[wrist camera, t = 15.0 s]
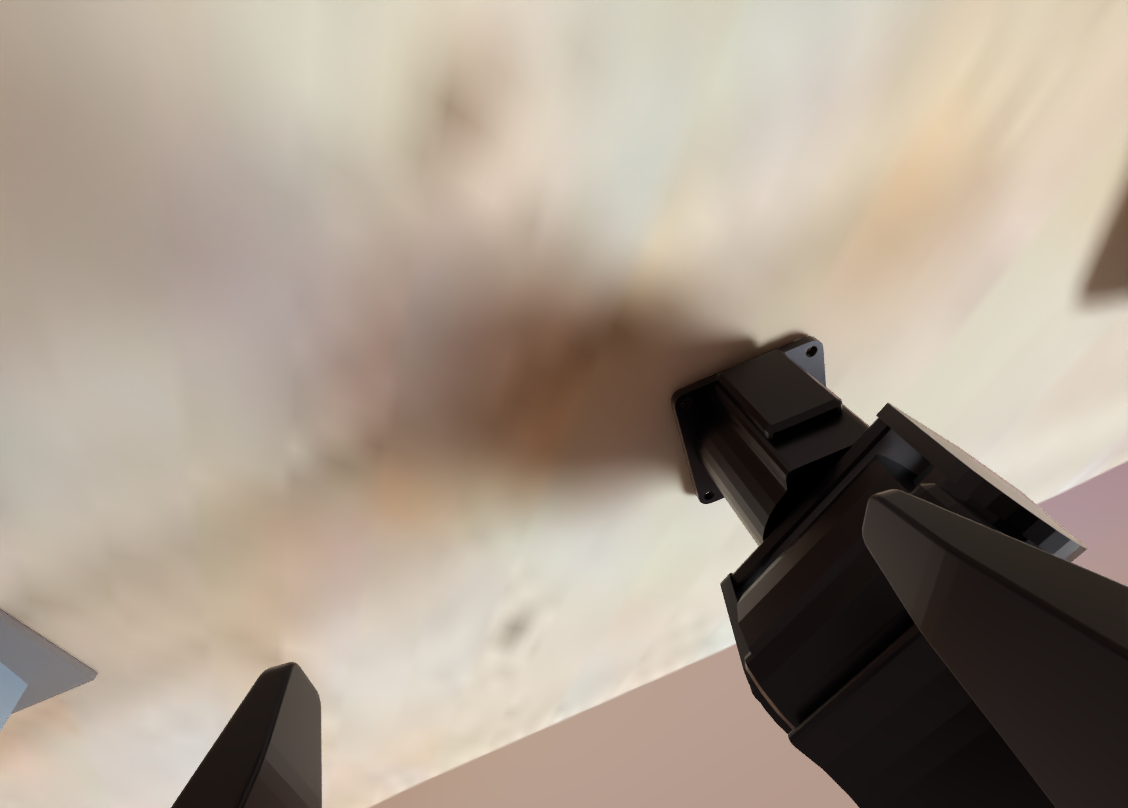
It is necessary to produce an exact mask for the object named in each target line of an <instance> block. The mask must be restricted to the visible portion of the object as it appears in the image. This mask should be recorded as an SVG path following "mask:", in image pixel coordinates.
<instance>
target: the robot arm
mask: <svg viewBox="0 0 1128 808" xmlns="http://www.w3.org/2000/svg"><path fill="white" fill-rule="evenodd" d="M811 346H812V347H811ZM810 347H811V349H810V350H809V351H808V352H807V353H806V351H807V350H808V348H810ZM686 398H688V400H687V402H685V403H683V404H681V402H682V400H684V399H686ZM671 404H672V408H673V411H674V415H675V419H676V423H677V426H678V430H679V434H680V438H681V441H682V445H683V449H684V452H685V456H686V460H687V464H688V467H689V471H690V475H691V479H692V482H693V486H694V490H695V493H696V496H697V497H698V499H699V500H700V502H701V503H703V504H709V503H712V502H715V501H717V500H720V499H722V498H724V497H725V499H726V500H727V501H728V503H729V504H730V506H731V507H732V509H733V510H734V511H735V513H736V514H737V516H738V517H739V519H740V520H741V521H742V523H743V524H744V526H745V527H746V529H747V530H748V531H749V533H750V534H751V536H752V537H753V539H754V540H755V541H756V543H757V544H758V547H757V549H756V550H755V551H754V552H753V553H752V554H751V555H750V556H749V557H748V558H747V559H746V560H745V561H744V563H743V564H742V565H741V566H740V567H739V568H738V569H737V570H736V571H735V572H734V573H733V574H732V573H730V574H729V575H728V576H727V577H726V578H725V579H724V580H723V581H722V582H721V583H720V584H721V589H722V592H723V596H724V600H725V603H726V607H727V611H728V614H729V618H730V622H731V625H732V629H733V633H734V636H735V640H736V644H737V647H738V651H739V654H740V658H741V662H742V666H743V669H744V672H745V675H746V678H747V680H748V683H749V684H750V687H751V690H752V693H753V695H754V696H755V698H756V699H757V700H758V701H759V702H760V703H761V704H762V706H763V707H764V708H765V710H766V711H767V712H768V713H769V715H770V716H771V717H772V718H773V719H774V721H775V722H776V723H777V724H778V725H779V726H780V727H781V728H782V729H783V730H784V731H785V732H786V733H787V734H788V737H789V740H790V742H791V743H792V744H793V745H794V746H795V747H796V748H797V749H799V750H800V751H801V752H802V753H803V754H805V755H806V756H807V757H808V758H810V759H811V760H812V761H813V762H815V763H816V764H817V765H818V766H820V767H821V768H822V769H823V770H824V771H825V772H826V773H827V774H828V775H829V776H830V777H831V778H832V779H833V780H834V781H835V782H836V783H837V784H838V785H839V786H840V787H841V788H842V789H843V790H844V791H845V792H846V793H847V794H848V795H849V796H850V797H851V798H852V799H853V800H854V802H855V803H856V804H857V805H858V807H859V808H1128V586H1125V585H1123V584H1121V583H1118V582H1116V581H1114V580H1111V579H1109V578H1107V577H1104V576H1102V575H1099V574H1097V573H1094V572H1092V571H1090V570H1088V569H1085V568H1083V567H1081V566H1078V565H1076V564H1074V563H1071V562H1072V561H1073V560H1074V559H1075V558H1077V557H1078V556H1079V555H1080V554H1082V553H1083V552H1084V551H1085V550H1086V549H1087V547H1085V546H1084V545H1083V544H1082V543H1081V542H1080V541H1079V540H1077V539H1076V538H1075V537H1074V536H1073V535H1072V534H1070V533H1069V532H1068V531H1067V530H1066V529H1065V528H1063V527H1062V526H1061V525H1060V524H1059V523H1057V522H1056V521H1055V520H1054V519H1053V518H1052V517H1050V516H1049V515H1048V514H1047V513H1046V512H1045V511H1043V510H1042V509H1041V508H1040V507H1039V506H1037V505H1036V504H1035V503H1034V502H1033V501H1032V500H1030V499H1029V498H1028V497H1027V496H1026V495H1025V494H1023V493H1022V492H1021V491H1020V490H1018V489H1017V488H1016V487H1014V486H1013V485H1011V484H1010V483H1009V482H1007V481H1006V480H1004V479H1003V478H1002V477H1000V476H999V475H997V474H996V473H995V472H993V471H992V470H990V469H989V468H987V467H986V466H985V465H983V464H982V463H980V462H979V461H978V460H976V459H975V458H973V457H972V456H971V455H969V454H968V453H966V452H965V451H964V450H962V449H961V448H959V447H958V446H956V445H954V444H953V443H951V442H950V441H948V440H946V439H945V438H943V437H942V436H940V435H939V434H937V433H935V432H934V431H932V430H931V429H929V428H927V427H926V426H924V425H923V424H921V423H920V422H918V421H916V420H915V419H913V418H912V417H910V416H908V415H907V414H905V413H904V412H902V411H901V410H899V409H897V408H896V407H894V406H893V405H891V404H890V403H887V404H886V405H885V406H884V407H883V408H882V410H881V411H880V412H879V413H878V414H877V415H876V416H877V417H878V418H877V419H876V421H875V422H874V423H873V424H872V425H871V426H869V425H868V424H866V423H865V422H864V421H863V420H862V419H860V418H859V417H858V416H857V415H855V414H854V413H853V412H852V411H851V410H849V409H848V408H847V407H846V406H845V405H843V404H842V401H841V399H840V398H839V397H837V396H836V395H835V394H834V393H833V392H831V391H830V390H829V389H828V388H827V387H826V382H825V367H824V353H823V345H822V343H821V342H820V341H818V340H817V339H816V338H814V337H811V336H808V337H804V338H802V339H800V340H797V341H795V342H792V343H790V344H788V345H785V346H783V347H780V348H778V349H775V350H772V351H770V352H767V353H765V354H763V355H760V356H758V357H755V358H753V359H751V360H748V361H746V362H743V363H741V364H739V365H736V366H734V367H731V368H729V369H726V370H724V371H722V372H720V373H718V374H715V375H713V376H710V377H708V378H706V379H703V380H701V381H698V382H696V383H693V384H691V385H689V386H686V387H684V388H681V389H679V390H678V391H676V392H675V393H674V394H673V396H672V398H671ZM707 492H709V493H707ZM706 493H707V494H706ZM171 808H322V762H321V703H320V698H319V695H318V692H317V690H316V689H315V687H314V686H313V684H312V683H311V682H310V680H309V679H308V677H307V676H306V675H305V673H304V672H303V670H302V669H301V667H300V666H299V665H298V664H297V663H294V662H289V663H285V664H282V665H278V666H275V667H271V668H269V669H267V670H265V671H264V672H263V673H262V674H261V675H260V676H259V678H258V679H257V681H256V682H255V683H254V685H253V686H252V688H251V689H250V691H249V692H248V694H247V695H246V697H245V698H244V700H243V701H242V703H241V704H240V706H239V707H238V709H237V710H236V712H235V713H234V715H233V716H232V718H231V719H230V721H229V722H228V724H227V725H226V727H225V728H224V730H223V731H222V733H221V734H220V736H219V737H218V739H217V740H216V742H215V743H214V745H213V746H212V748H211V749H210V750H209V752H208V753H207V755H206V756H205V758H204V759H203V761H202V762H201V764H200V765H199V767H198V768H197V770H196V771H195V773H194V774H193V776H192V777H191V779H190V780H189V782H188V783H187V785H186V786H185V788H184V789H183V791H182V792H181V794H180V795H179V797H178V798H177V800H176V801H175V803H174V804H173V806H172V807H171Z"/></svg>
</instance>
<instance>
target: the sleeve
mask: <svg viewBox="0 0 1128 808" xmlns="http://www.w3.org/2000/svg"><path fill="white" fill-rule="evenodd" d="M27 686H28V684H27V683H25V682H24V681H23V680H22V679H21V678H19V677H18V676H17V675H16V674H15V673H13V672H12V671H11V670H10V669H9V668H7V667H6V666H5V665H4V664H2V663H1V662H0V731H1V729H2V728H3V726H4V724H5V723H6V721H7V719H8V718H9V716H10V714H11V712H12V711H13V709H14V707H15V706H16V704H17V702H18V701H19V699H20V697H21V696H22V694H23V692H24V691H25V689H26V687H27Z"/></svg>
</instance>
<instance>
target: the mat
mask: <svg viewBox="0 0 1128 808" xmlns="http://www.w3.org/2000/svg"><path fill="white" fill-rule="evenodd" d="M0 662H1V663H2V664H4V665H5V666H6V667H7V668H9V669H10V670H11V671H12V672H13V673H15V674H16V675H17V676H18V677H19V678H21V679H22V680H23V681H24V682H25V683H27V684H28V686H27V687H26V689H25V691H24V692H23V694H22V696H21V697H20V699H19V701H18V702H17V704H16V706H15V707H14V709H13V711H12V712H11V714H12V713H15V712H17V711H20V710H22V709H24V708H27V707H29V706H32V705H34V704H37V703H39V702H41V701H44V700H46V699H49V698H51V697H53V696H56V695H58V694H61V693H63V692H65V691H68V690H70V689H73V688H75V687H77V686H80V685H82V684H85V683H87V682H90V681H92V680H94V679H95V677H96V675H97V672H95V671H94V670H92V669H90V668H89V667H87V666H86V665H84V664H83V663H81V662H80V661H78V660H77V659H75V658H74V657H72V656H71V655H69V654H68V653H66V652H64V651H63V650H61V649H60V648H58V647H57V646H55V645H54V644H52V643H51V642H49V641H48V640H46V639H45V638H43V637H41V636H40V635H38V634H37V633H35V632H34V631H32V630H31V629H29V628H28V627H26V626H25V625H23V624H22V623H20V622H18V621H17V620H15V619H14V618H12V617H11V616H9V615H8V614H6V613H5V612H3V611H2V610H0Z"/></svg>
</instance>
